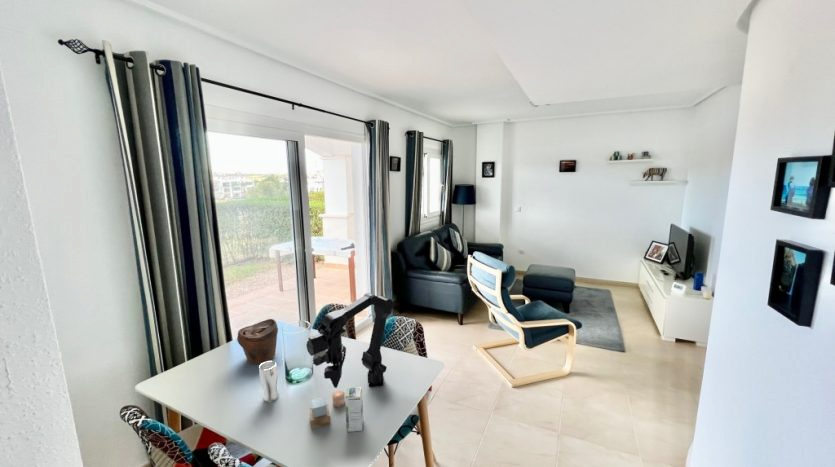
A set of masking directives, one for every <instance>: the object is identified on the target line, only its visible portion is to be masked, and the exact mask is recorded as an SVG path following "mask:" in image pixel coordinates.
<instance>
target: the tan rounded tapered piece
mask: <svg viewBox="0 0 835 467" xmlns="http://www.w3.org/2000/svg"><path fill="white" fill-rule="evenodd" d="M331 397H332V406H333V407H335V408H341V407H343V406H344V405H345V397H346V396H345V392H344V391H343V390H337V391H335V392H333V393H332V396H331Z"/></svg>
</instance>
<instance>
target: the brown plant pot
mask: <svg viewBox="0 0 835 467" xmlns="http://www.w3.org/2000/svg"><path fill="white" fill-rule="evenodd" d="M278 332H279V328H278V325H277V321H276V320H275V319H273V318H268V319H265V320H263V321H260V322H258V323H255V324H253V325H248V326H244V327H242V328H240V329H239V330H238V331H237V336H236V341H237V343H238V344H239V346H240V347H241V348H242V350H243V352H244V355H245V358H246V360H247V363H249V364H254V365H257V364H258V365H259V364H262V363H264V362H267V361H271V359H273V358H274V357H275V355H276V350H277V340H278V339H277V338H278Z"/></svg>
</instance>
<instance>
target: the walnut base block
mask: <svg viewBox="0 0 835 467" xmlns="http://www.w3.org/2000/svg"><path fill="white" fill-rule="evenodd" d="M308 409H309V417H310V418H309V420H310V429H311V430H314V429H317V428H323V427H325V426H328V425H329V426H330V425H331V415H330V414H331V413H330V408H329V404H328V403H326V409H327V415H323V416H319V417H315V418H313V411H312V407H309V408H308Z"/></svg>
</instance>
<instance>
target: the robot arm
mask: <svg viewBox="0 0 835 467" xmlns="http://www.w3.org/2000/svg"><path fill="white" fill-rule="evenodd" d="M370 306H373V311H374V315H375V318H374V322H373V327H372V332H371V337H370V341H369V347H368V349H367V350H366V351H363V352H362V356H361V358H360V360H361V364H362V365H363V367H365V368H366V369H367V370H368V371H367V375H366V376H367V384H368V387H369V388H373V387H383V386H385V382H384V380H385V379H384V378H385V376H384V373H385V372H386V371H387V366H386V365H385V364H383V363H382V362H383V357H382V354H381V353H382V352H381V348H382V343H383V337H384V333H385V329H386V323H387V319H388V317H389V316H390V315H391V314H392V311H393V309H394V306H395V305H394V301H393V300H392V299H391V298H388V297H386V296H384V295H374V294H372V293H370V292H367V293H364V295H363V296H362V297H361V296H360V297H359V298H358V299H356V300H355V301H353V302H352V303H350V304H349V305H347V306H345V307H343V308H341V309H337V310H332V311H331V312H328V313H326V314H325V315H324V316H323V319H322V322H321V324H320V326H319V328H317V329H318V330H317V333H318V334H315V335H312V336H309V337H308V340H307V341H306V350H307V352H308V354H309V356H313V357H312V362H313V365H315V366H316V367H317V366H321V365H323V364H324V363H326V364H331V365H327V366H326V367H325V368H324V371H323V372H324V373H323V375H324V376H323V378H324V379H326V380H327V379H330V381H331V383H332V385H333V388H334V389H335V388H336V389H337V388H338V386H339V382H340V380H341V378H342V374H343V365H344V362H345V359H346V355H347V347H346V346H345V345H344V344H343V343H342V342H343V341H342V334H344V333H346V332H347V330H346V329H345V328H344V327H345V326H346V325H347V323H348V321H349V320H350V319H352V318H353V317H355V316H357V315H359V313H361V312H363V311H364V310H366V309H368V308H369V307H370ZM328 330H329V331H328Z"/></svg>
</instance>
